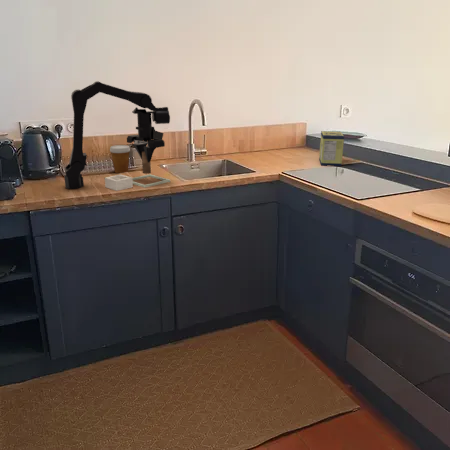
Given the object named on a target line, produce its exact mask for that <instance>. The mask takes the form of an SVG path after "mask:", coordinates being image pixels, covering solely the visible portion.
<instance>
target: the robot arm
mask: <svg viewBox="0 0 450 450" xmlns="http://www.w3.org/2000/svg"><path fill="white" fill-rule="evenodd" d="M99 93H102V94H104V95H109V96H111V97H116V98H119V99H121V100H124V101H128V102H130V103H133V104H134V105H135V106H137V107H135V108H134V109H133V110H132V113H133V115H136V116H137V126H135V130H137V134H133V135H131V134H130V135H128V136H127V137H126V143H128V144H132V146H134V148H135V150H136V152H137V153H138V155H139V157H140V159H141V160H142V152H143V151H145V154H146V158H147V161H148V162H150V163H151V160H152V157H153V154H154V152H155V150H156V149H157V148H158V149H159V148H163V147H165V146H166V143H165V142H166V141H165V140H164V139H163V137H164V132H161V131H157V130H156V129H155V126H153V125H152V123H153V122H154V123H155V125H167V124H168V125H169V124H170V122H171V115H170V111H169V107H168V106H163V107H156V105H154V103H153V99H152V97H151V96H150V94H148V93H144V92H138V91H130V90H126V89H123V88H119V87H116V86H114V85H113V86H112V85H110V84H106V83H102V82H101V81H98V80H97V81H94V82H93V83H91V84H89V85H88V86H86V87H83V88H82V89H75V90H73V91H72V93H71V96H70V99H71V104H72V111H73V125H72V126H73V127H72V131H73V132H72V134H73V136H72V150H71V153H70V157H69V163H68V164H67V165H66V166H65V167H64V173H65V174H64V175H63V177H64V186H65V189H67V190H78V189H81V188H83V187H84V186H85V185H84V177H83V174H82V172H83V171H84V170H85V168H86V166H88V165H87V158H88V155H87V153H86V152H84V151H83V150H84V149H83V147H84V146H83V142H84V121H85V119H84V115H85V112H86V108H87V104H88V100H90V99H92V98H94V96H96V95H98V94H99ZM138 107H140V108H138ZM147 109H148V110H150V111H147Z"/></svg>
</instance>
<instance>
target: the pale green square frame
mask: <svg viewBox="0 0 450 450" xmlns="http://www.w3.org/2000/svg"><path fill="white" fill-rule="evenodd" d="M146 178H153V179H157V180H161V181H156V182H150V183H147V184H144V183H139V182H136V181H138V180H141V179H146ZM132 181H133V185H134V186H137V187H141V188H145V189H146V188H149V187H150V188H151V187H154V186H158V185H163V184H166V183H171V179H169V178H164V177H161V176H158V175H154V174H151V173H149V174H144V175H140V176H136V177H132Z"/></svg>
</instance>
